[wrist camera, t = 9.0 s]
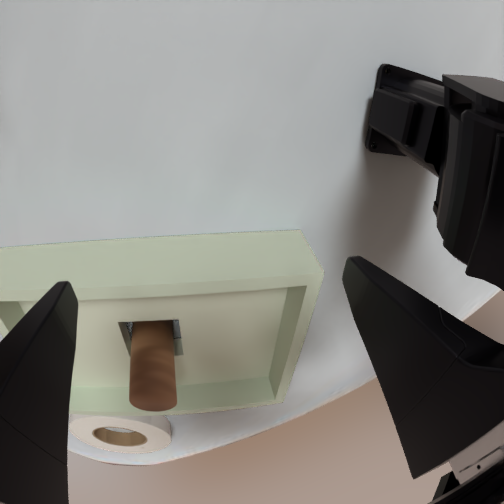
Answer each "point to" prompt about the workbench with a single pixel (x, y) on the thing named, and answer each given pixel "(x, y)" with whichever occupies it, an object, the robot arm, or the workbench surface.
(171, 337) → the peg
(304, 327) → the box
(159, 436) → the roll of tape
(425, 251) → the workbench surface
